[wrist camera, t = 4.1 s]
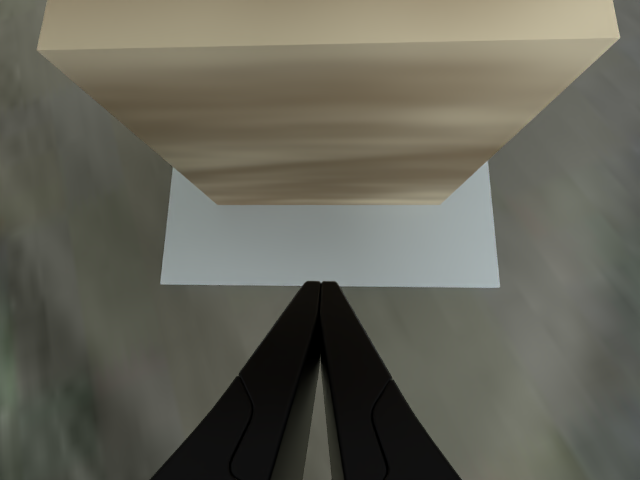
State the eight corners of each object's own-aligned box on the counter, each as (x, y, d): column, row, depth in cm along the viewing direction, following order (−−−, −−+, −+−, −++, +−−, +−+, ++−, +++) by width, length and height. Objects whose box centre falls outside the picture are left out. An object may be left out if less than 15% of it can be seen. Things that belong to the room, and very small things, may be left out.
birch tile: (439, 204, 16) (620, 37, 6) (217, 204, 16) (37, 50, 6) (437, 166, 16) (602, -51, 6) (220, 167, 16) (54, -33, 7)
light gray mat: (495, 288, 15) (500, 287, 15) (164, 284, 16) (160, 284, 15) (467, -10, 18) (470, -17, 18) (194, -3, 19) (191, -9, 19)
